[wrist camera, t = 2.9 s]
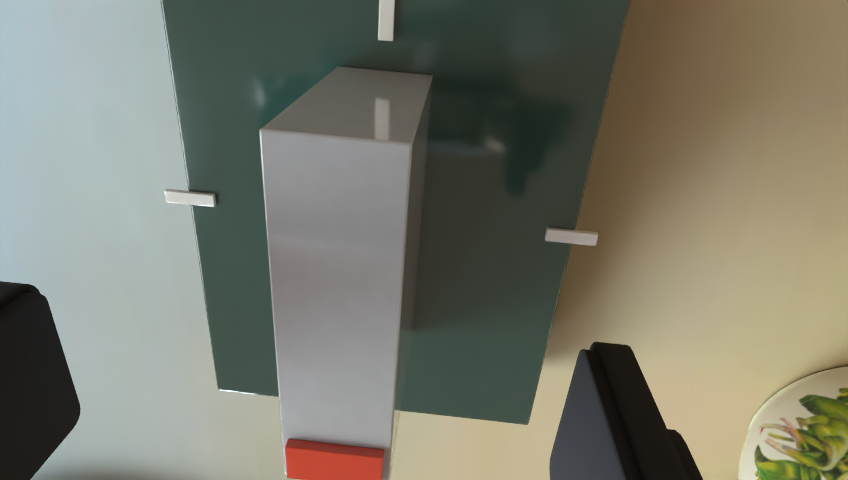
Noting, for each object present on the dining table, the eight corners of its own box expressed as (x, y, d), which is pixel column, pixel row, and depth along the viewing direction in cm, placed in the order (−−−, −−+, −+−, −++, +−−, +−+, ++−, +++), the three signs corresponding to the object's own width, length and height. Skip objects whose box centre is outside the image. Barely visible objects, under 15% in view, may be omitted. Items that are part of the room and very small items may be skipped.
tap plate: (180, -106, 14) (110, -123, 11) (637, -68, 14) (680, -74, 11) (233, 335, 21) (198, 392, 18) (536, 368, 21) (546, 431, 18)
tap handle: (336, 65, 13) (252, 133, 8) (433, 74, 13) (411, 149, 8) (337, 325, 17) (280, 483, 12) (412, 333, 17) (387, 496, 12)
